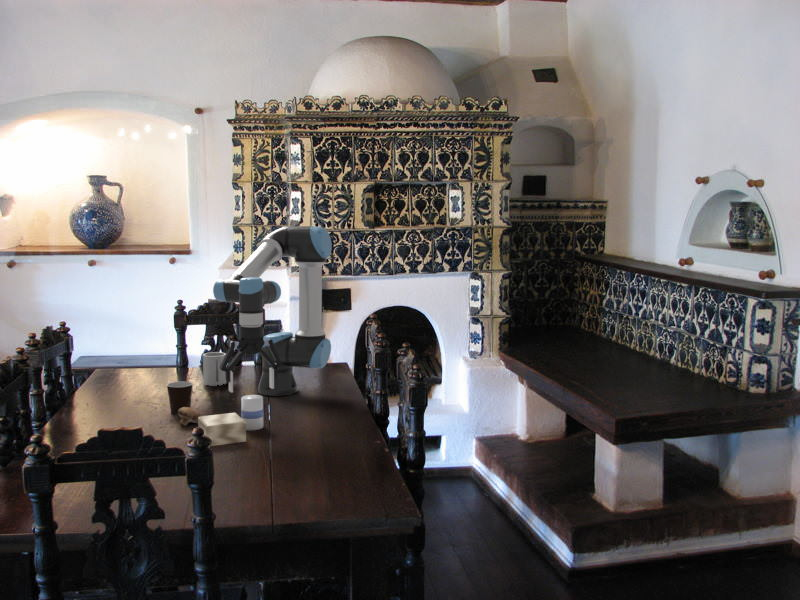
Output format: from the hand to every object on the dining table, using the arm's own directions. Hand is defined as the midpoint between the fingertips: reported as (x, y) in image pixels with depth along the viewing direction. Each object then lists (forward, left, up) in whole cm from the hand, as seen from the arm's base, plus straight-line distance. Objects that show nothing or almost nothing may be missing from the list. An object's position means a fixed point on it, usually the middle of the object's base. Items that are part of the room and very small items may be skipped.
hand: (251, 389), depth 245 cm
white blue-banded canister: (0, 0, -13) cm, 13 cm away
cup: (-3, -66, -13) cm, 68 cm away
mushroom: (+18, -12, -13) cm, 25 cm away
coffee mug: (+17, -29, -13) cm, 36 cm away
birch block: (+12, +8, -13) cm, 19 cm away
